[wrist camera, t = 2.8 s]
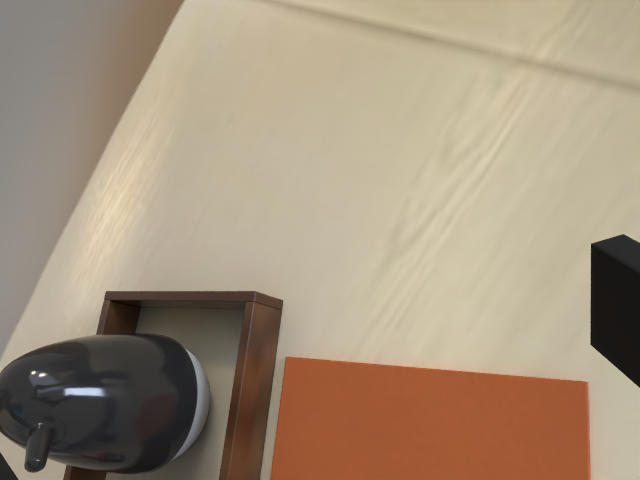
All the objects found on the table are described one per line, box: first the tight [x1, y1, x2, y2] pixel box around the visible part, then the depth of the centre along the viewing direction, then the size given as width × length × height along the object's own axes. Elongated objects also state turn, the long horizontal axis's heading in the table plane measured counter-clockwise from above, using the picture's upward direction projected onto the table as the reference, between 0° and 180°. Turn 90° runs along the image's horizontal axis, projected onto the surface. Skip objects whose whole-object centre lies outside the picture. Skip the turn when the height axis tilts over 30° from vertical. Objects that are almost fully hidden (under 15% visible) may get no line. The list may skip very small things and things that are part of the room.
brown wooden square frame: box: [63, 291, 283, 480], centre depth 42 cm, size 18×18×4 cm
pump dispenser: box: [0, 333, 210, 474], centre depth 37 cm, size 10×10×15 cm
